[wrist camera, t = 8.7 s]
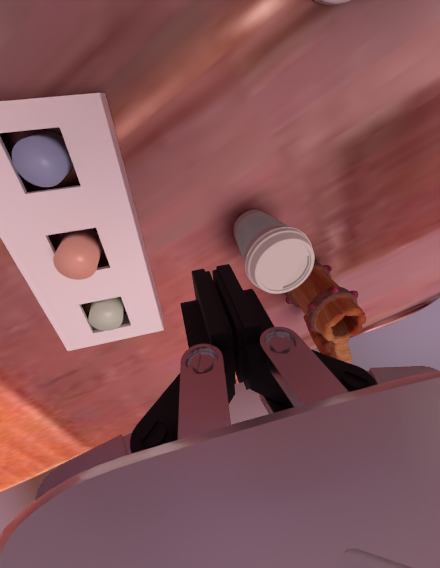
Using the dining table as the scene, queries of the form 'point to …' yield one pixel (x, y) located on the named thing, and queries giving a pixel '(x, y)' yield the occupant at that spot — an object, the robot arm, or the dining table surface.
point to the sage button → (106, 314)
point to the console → (78, 221)
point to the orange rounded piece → (78, 254)
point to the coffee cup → (273, 252)
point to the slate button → (42, 159)
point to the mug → (328, 312)
